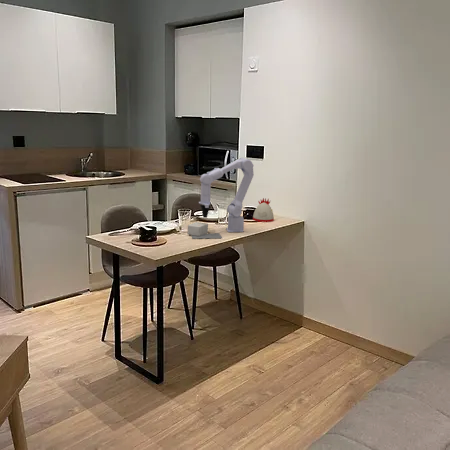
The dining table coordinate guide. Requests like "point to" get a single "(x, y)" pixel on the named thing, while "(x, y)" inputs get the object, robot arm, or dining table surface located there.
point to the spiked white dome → (263, 212)
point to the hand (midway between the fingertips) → (205, 217)
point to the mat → (207, 236)
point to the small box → (197, 228)
